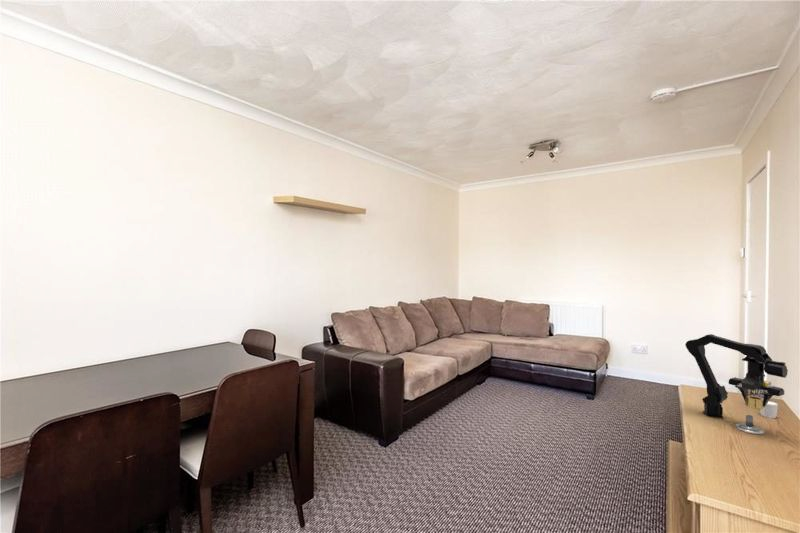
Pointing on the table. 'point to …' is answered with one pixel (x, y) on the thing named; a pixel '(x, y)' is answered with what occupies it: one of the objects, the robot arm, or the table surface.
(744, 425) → the hub
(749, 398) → the collar
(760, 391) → the candy box
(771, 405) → the white cup
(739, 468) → the table surface
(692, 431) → the table surface
